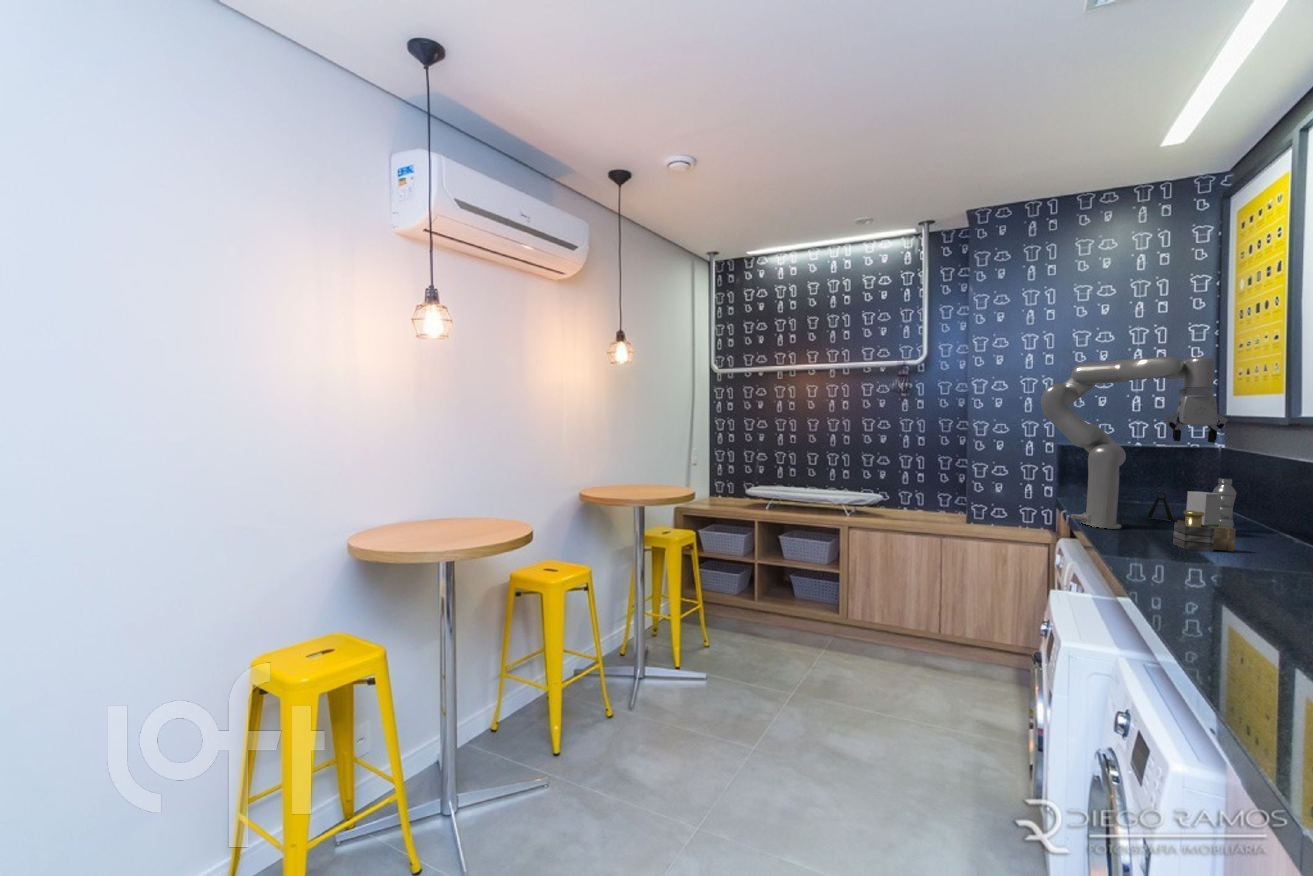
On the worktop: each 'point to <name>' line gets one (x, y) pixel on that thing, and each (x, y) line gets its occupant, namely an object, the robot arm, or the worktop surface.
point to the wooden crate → (1213, 538)
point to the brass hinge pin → (1193, 519)
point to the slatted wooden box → (1191, 530)
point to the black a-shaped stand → (1167, 508)
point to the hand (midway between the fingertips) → (1194, 441)
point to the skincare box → (1205, 506)
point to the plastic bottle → (1226, 502)
